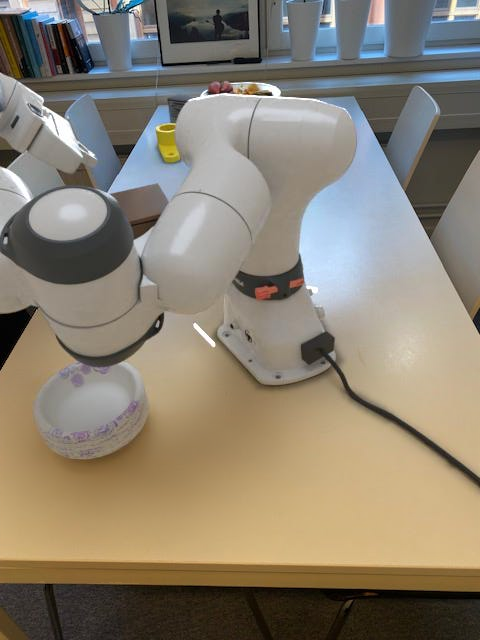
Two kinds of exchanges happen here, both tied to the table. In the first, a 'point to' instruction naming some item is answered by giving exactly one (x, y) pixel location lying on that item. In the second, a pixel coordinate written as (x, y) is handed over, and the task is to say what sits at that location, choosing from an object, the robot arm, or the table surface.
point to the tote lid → (142, 203)
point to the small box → (177, 105)
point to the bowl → (241, 89)
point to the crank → (167, 142)
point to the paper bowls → (91, 409)
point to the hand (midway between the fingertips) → (95, 162)
